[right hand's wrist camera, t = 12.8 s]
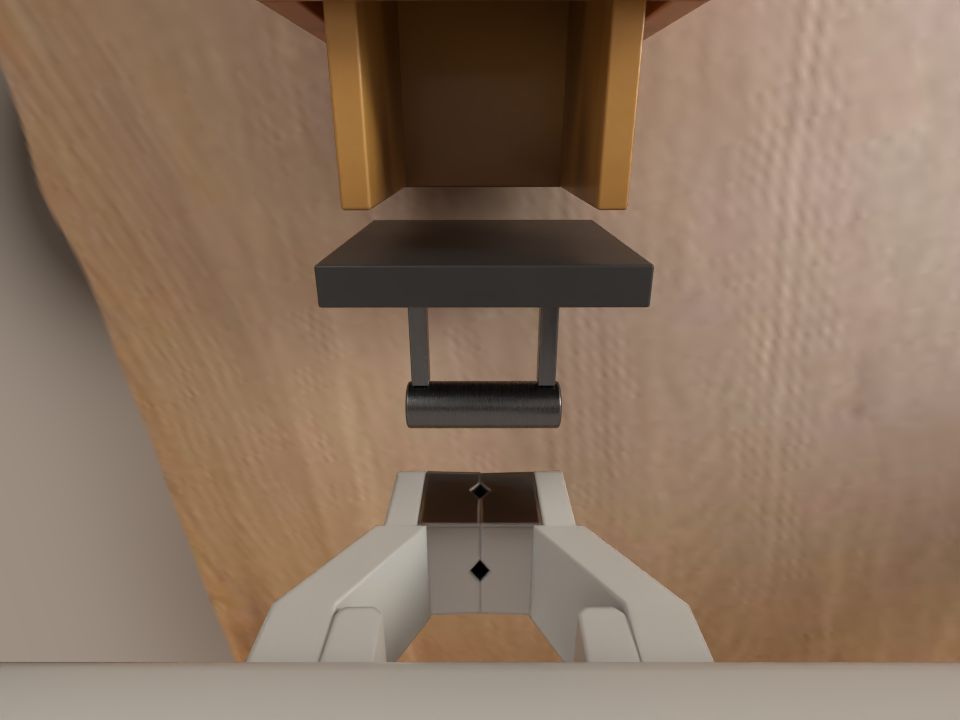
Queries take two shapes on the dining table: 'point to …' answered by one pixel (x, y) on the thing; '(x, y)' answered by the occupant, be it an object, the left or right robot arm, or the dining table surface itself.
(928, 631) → the dining table surface
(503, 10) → the drawer
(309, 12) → the cabinet
